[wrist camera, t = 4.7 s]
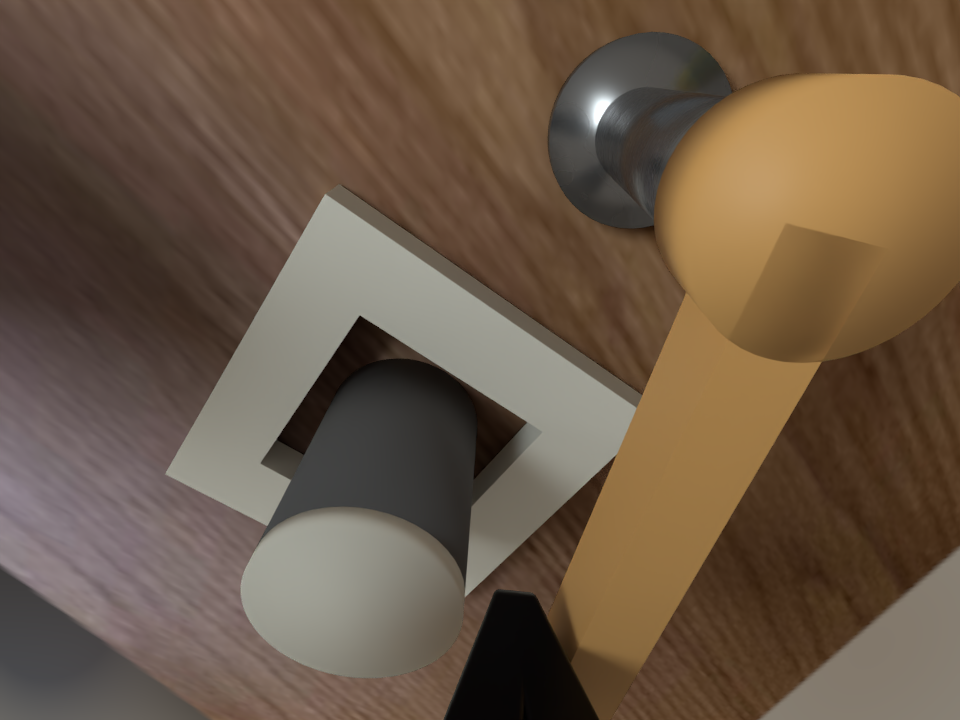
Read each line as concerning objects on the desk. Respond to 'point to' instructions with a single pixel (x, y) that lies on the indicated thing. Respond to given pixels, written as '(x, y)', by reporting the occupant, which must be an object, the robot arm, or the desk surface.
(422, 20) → the desk surface
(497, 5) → the desk surface
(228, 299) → the desk surface
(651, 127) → the post
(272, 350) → the socket block
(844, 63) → the desk surface
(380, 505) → the plug
